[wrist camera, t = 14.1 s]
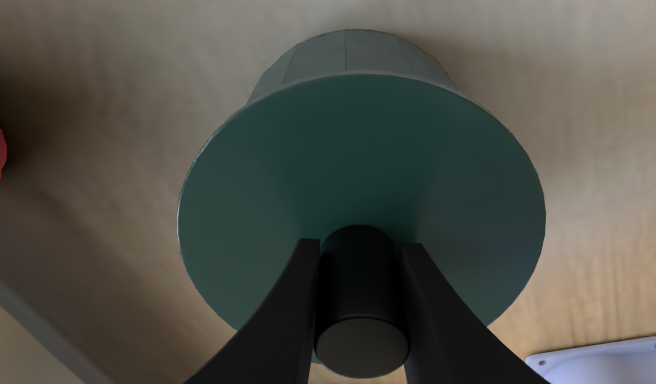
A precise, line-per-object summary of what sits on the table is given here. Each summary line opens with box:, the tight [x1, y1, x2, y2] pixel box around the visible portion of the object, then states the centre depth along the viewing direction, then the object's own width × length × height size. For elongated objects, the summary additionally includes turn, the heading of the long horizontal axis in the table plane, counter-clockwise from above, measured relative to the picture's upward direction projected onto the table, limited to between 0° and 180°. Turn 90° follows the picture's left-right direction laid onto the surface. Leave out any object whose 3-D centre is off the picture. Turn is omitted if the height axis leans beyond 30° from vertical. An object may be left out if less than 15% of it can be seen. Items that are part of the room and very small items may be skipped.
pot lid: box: [177, 69, 546, 379], centre depth 12 cm, size 11×11×5 cm
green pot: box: [246, 29, 459, 104], centre depth 18 cm, size 10×10×6 cm
